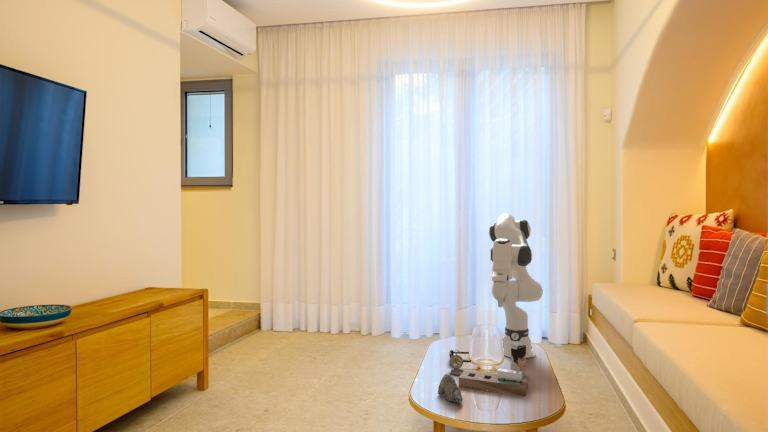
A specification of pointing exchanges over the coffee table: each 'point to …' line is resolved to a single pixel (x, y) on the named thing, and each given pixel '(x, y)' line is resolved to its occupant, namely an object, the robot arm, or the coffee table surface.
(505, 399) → the coffee table surface
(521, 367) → the cup
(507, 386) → the slotted brown block
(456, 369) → the pocket watch
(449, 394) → the mineral rock
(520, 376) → the tall white block
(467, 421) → the coffee table surface
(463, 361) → the sunglasses
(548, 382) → the coffee table surface
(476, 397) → the coffee table surface
